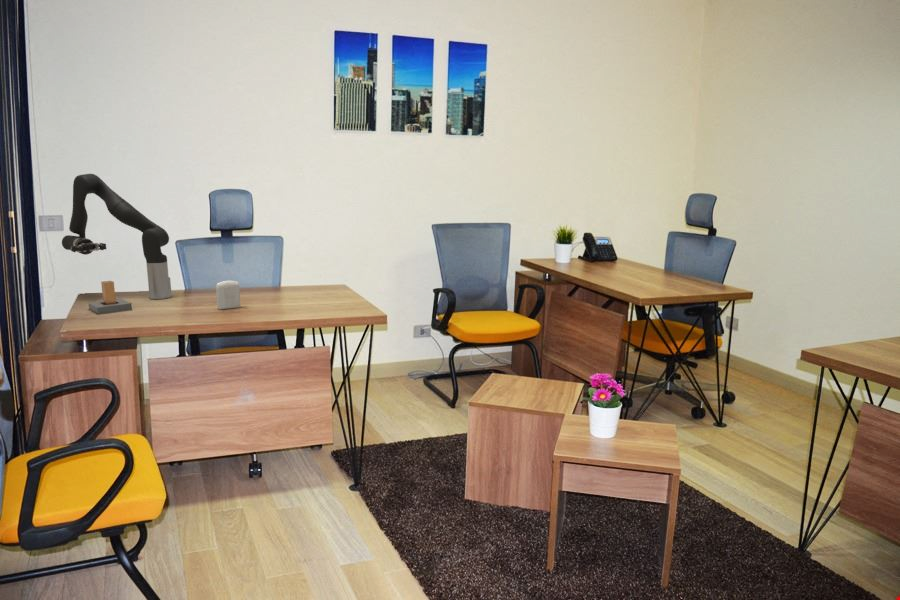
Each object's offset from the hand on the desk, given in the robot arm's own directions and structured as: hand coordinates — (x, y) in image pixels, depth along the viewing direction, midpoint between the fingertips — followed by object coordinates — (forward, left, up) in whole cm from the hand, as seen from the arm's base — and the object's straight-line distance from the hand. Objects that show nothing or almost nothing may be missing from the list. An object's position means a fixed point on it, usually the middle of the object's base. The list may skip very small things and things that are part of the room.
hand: (92, 248), depth 328 cm
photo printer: (-41, +51, -26) cm, 70 cm away
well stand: (0, +19, -25) cm, 32 cm away
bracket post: (0, +19, -25) cm, 31 cm away
